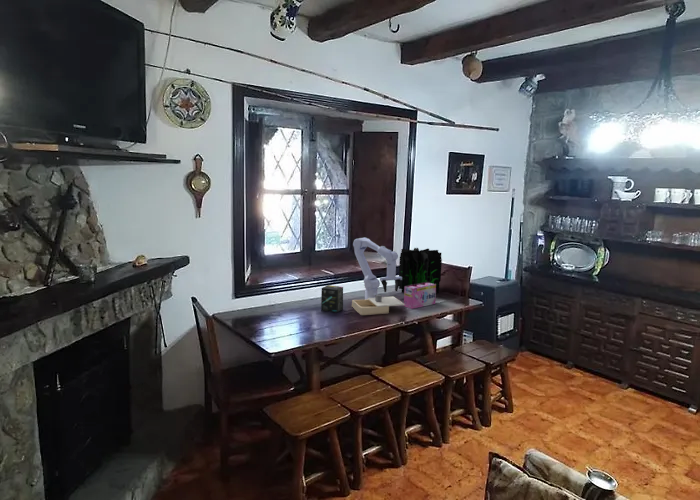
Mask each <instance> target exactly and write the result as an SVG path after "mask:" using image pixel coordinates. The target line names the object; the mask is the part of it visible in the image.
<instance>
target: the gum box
mask: <svg viewBox="0 0 700 500" xmlns="http://www.w3.org/2000/svg"><path fill="white" fill-rule="evenodd" d="M403 295H404V296H403V303H404V304H405V305H403V307H406V308H408V309H418V308H421V307H425V306H427V307H428V306H431V305H435V304H436V299H437V298H436V297H437V293H436V284H432V283H430V282H424V283H419V284H414V285H408V286H405V289H404V293H403Z"/></svg>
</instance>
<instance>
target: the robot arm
mask: <svg viewBox="0 0 700 500" xmlns="http://www.w3.org/2000/svg"><path fill="white" fill-rule="evenodd" d="M352 246H353V250H354V256H355V257H356V259H357V262H358V264H359V266H360V267H359V268H360V269H361V271H362V274H363V276H364V278H363V283H364V285H363V286H364V288H365V291H364V300H365V299H368V298H375V297H376V295H378V289H379V288H380V284H381V285H382V287H383V292H385V293H387V289H388V288H387V286H388V282H387V281H394V291H395V292H398V291H399V290H398V289H399V285H400V283H401V280H402V277H401V276H400V277H399V276H397V275H396V274H397V259H398V258H399V255H398V252H396V251H394V250H393V251H392V249H389V248H387V247H386V246H385V245H381V246H379V245H378V244H377V243H375V242H374V241H372V240H371V239H370V238H368V237H359V238H355V239H354V240H353V243H352ZM367 248H370V249H372V250H374V251H376V252H377V254H378V255H380V256H381V257H383V258H385V260H386V276H381V277H380V278H379V279H378V278H377V276H376V275H374V274H373V272H372V270H371V268H370V265H369V262H368V261H367V258H366V256H365V253H364V252H365V251H366V249H367ZM380 282H381V283H380Z"/></svg>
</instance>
